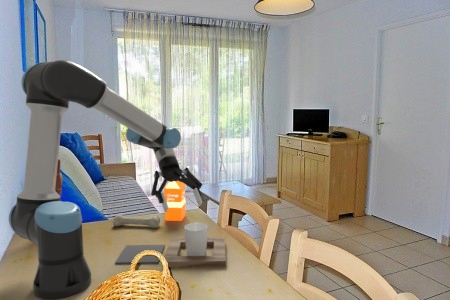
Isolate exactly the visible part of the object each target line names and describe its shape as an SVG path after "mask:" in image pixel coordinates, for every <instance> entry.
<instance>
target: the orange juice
mask: <svg viewBox="0 0 450 300" xmlns="http://www.w3.org/2000/svg"><path fill="white" fill-rule="evenodd" d="M163 191H164V192H163V193H164V196H165V199H166V202H167V205H168V210H167V212H165V211H164V220H165V221H173V222H176V221H177V222H178V221H179V222H182V221H183V220H184V218H185V217H186V215H187V213H186V211H187V210H186V184H184V183H183V182H180V181H173V182H169V181H167V183H166V185H165V186H164V188H163Z"/></svg>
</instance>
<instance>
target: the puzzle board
mask: <svg viewBox="0 0 450 300" xmlns="http://www.w3.org/2000/svg"><path fill="white" fill-rule="evenodd" d="M225 238H226V237H224V236H223V237H222V236H221V237H219V236H217V237H212V236H210V237H208V236H207V247H206V248H213V255H205V256H187V255H180V253H181V248H186V242H185V237H171V238H170V240H169V242H168V243H169V244H168V246H167V249H166V251H165V254H164V257H165V258H166V259H167V261H168V263H169V267H170V268H172V269H173V268H175V269H176V268H226V267H227V257H226V255H227V253H226V239H225ZM170 268H169V269H170Z"/></svg>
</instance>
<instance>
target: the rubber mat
mask: <svg viewBox="0 0 450 300" xmlns="http://www.w3.org/2000/svg"><path fill="white" fill-rule="evenodd" d="M164 249H165V244H127V245H125V247H124V248H123V249H122V251H121V252H120V254H119V256H118V257H117V258H116V260H115V262H114V265H132V264H131V262H132V260H133V259H134V257H135V256H136V255H137V254H138V253H140V252H142V251H144V250H155V251H158V252H160V253H161V254H162V255H163V253H164V252H163V251H164ZM139 263H140V264H141V265H143V264H144V265H151V264H159V263H160V260H159V259H158V258H156V257H154V256H145V257H143V258H142V259H141V260H140V261H139Z"/></svg>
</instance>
